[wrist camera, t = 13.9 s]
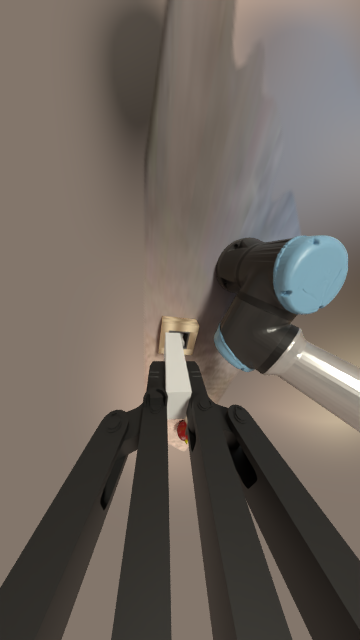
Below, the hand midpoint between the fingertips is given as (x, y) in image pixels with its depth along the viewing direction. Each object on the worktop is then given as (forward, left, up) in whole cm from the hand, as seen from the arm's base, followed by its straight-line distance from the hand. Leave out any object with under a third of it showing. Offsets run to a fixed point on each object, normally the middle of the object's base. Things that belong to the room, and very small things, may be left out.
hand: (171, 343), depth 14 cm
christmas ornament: (-19, +75, -30) cm, 83 cm away
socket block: (-6, +16, -29) cm, 34 cm away
